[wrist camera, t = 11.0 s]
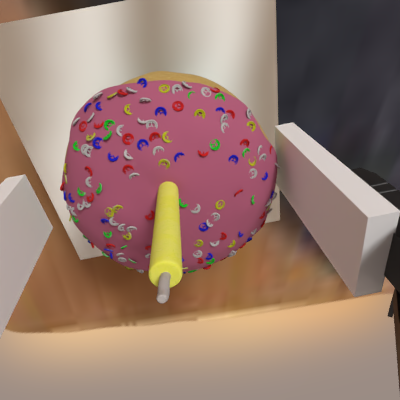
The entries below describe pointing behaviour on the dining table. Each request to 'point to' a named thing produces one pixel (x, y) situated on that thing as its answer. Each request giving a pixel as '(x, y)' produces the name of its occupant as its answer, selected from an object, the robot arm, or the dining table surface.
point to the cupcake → (168, 175)
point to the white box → (130, 69)
